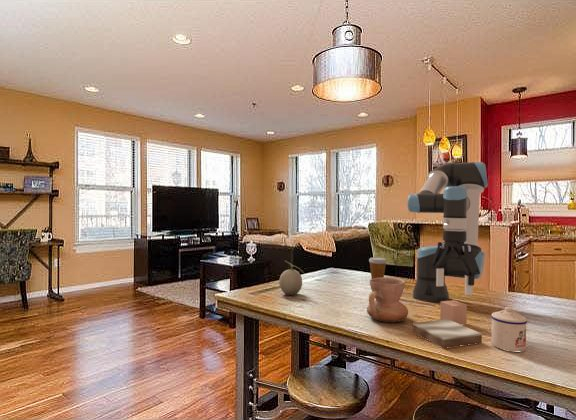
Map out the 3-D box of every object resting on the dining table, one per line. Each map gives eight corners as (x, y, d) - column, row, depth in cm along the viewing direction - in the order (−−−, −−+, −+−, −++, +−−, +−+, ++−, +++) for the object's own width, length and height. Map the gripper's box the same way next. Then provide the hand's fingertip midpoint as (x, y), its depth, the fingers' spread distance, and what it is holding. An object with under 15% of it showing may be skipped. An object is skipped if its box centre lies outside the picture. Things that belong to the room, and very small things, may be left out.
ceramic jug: (387, 310, 140) (386, 274, 140) (418, 319, 128) (418, 280, 128) (354, 319, 130) (353, 280, 130) (385, 330, 118) (385, 288, 118)
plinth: (412, 332, 116) (412, 323, 116) (447, 327, 120) (447, 319, 120) (443, 348, 103) (443, 338, 103) (481, 343, 107) (481, 333, 107)
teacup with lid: (522, 356, 98) (523, 314, 98) (486, 346, 104) (487, 307, 104) (531, 344, 107) (532, 305, 106) (497, 336, 113) (498, 299, 113)
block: (440, 320, 128) (440, 301, 128) (453, 319, 130) (454, 300, 130) (452, 326, 122) (453, 306, 122) (466, 324, 124) (466, 304, 124)
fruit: (301, 298, 157) (301, 264, 157) (276, 296, 160) (276, 263, 160) (306, 292, 167) (306, 261, 167) (283, 290, 170) (283, 259, 170)
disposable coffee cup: (375, 277, 202) (375, 256, 202) (389, 280, 195) (390, 258, 194) (365, 279, 196) (365, 258, 196) (379, 282, 189) (379, 260, 188)
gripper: (422, 228, 136) (421, 283, 136) (474, 232, 112) (473, 299, 112) (438, 228, 138) (437, 282, 138) (492, 232, 115) (491, 298, 115)
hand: (453, 290), depth 125 cm, fingers open, 13 cm apart
